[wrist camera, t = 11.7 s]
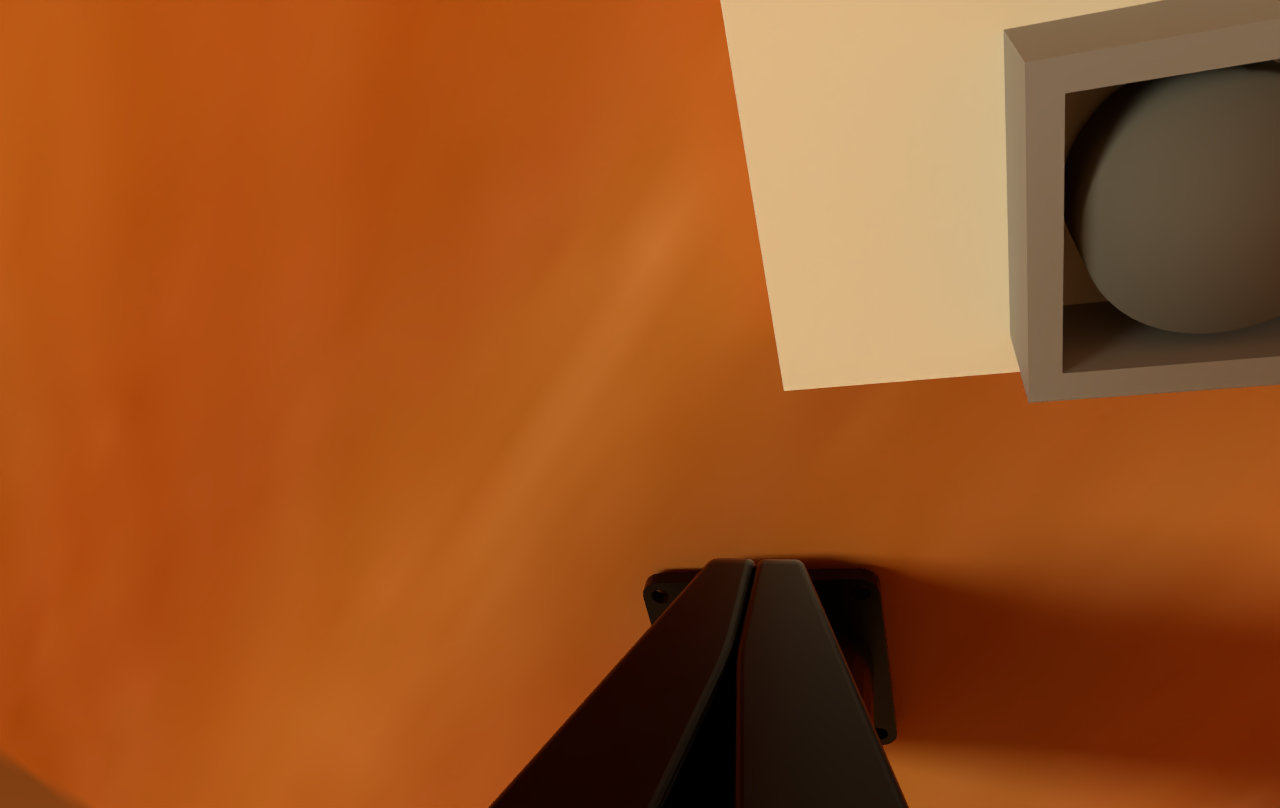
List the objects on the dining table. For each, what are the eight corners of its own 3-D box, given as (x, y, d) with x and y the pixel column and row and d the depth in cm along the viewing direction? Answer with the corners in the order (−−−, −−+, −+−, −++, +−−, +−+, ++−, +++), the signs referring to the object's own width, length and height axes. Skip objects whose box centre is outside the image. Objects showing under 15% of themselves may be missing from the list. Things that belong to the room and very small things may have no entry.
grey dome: (1311, 271, 15) (1360, 320, 13) (1059, 296, 16) (1078, 345, 15) (1349, 28, 13) (1410, 53, 12) (1061, 76, 14) (1083, 105, 13)
